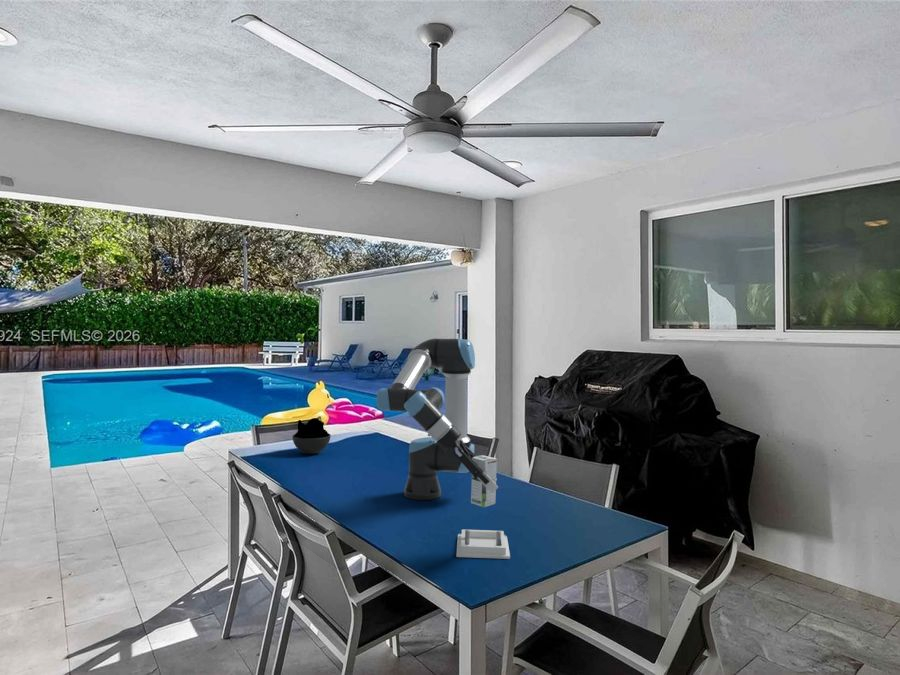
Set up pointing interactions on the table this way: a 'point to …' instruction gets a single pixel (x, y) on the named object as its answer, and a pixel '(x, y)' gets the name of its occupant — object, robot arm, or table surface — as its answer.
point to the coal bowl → (311, 436)
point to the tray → (483, 544)
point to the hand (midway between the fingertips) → (494, 486)
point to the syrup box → (478, 490)
